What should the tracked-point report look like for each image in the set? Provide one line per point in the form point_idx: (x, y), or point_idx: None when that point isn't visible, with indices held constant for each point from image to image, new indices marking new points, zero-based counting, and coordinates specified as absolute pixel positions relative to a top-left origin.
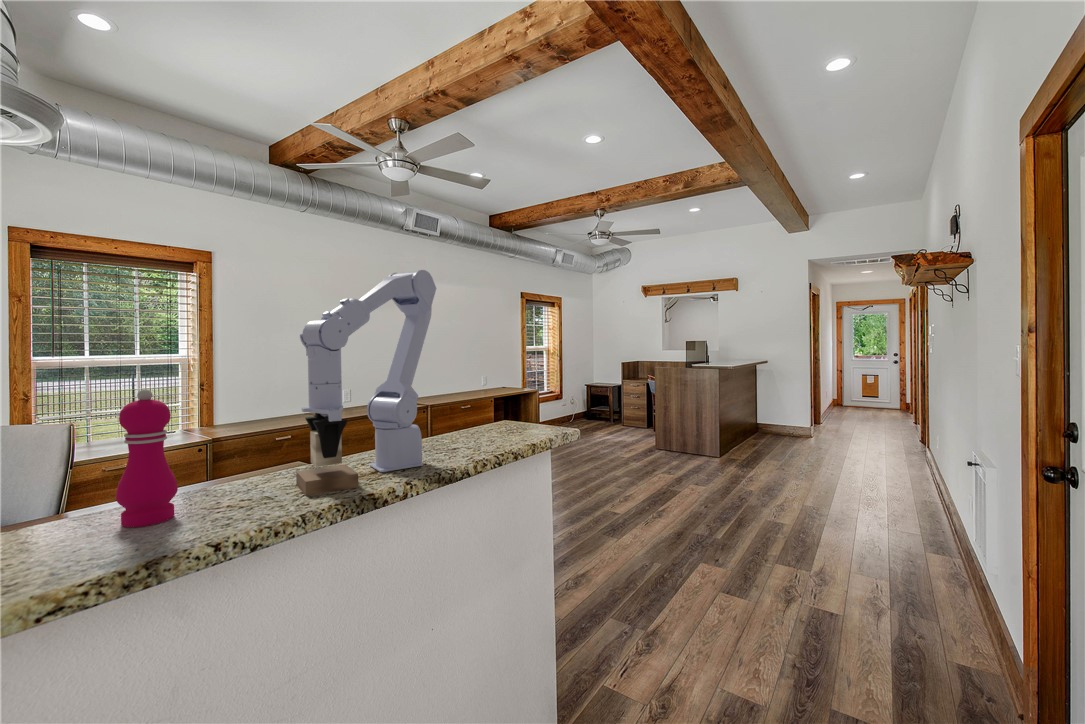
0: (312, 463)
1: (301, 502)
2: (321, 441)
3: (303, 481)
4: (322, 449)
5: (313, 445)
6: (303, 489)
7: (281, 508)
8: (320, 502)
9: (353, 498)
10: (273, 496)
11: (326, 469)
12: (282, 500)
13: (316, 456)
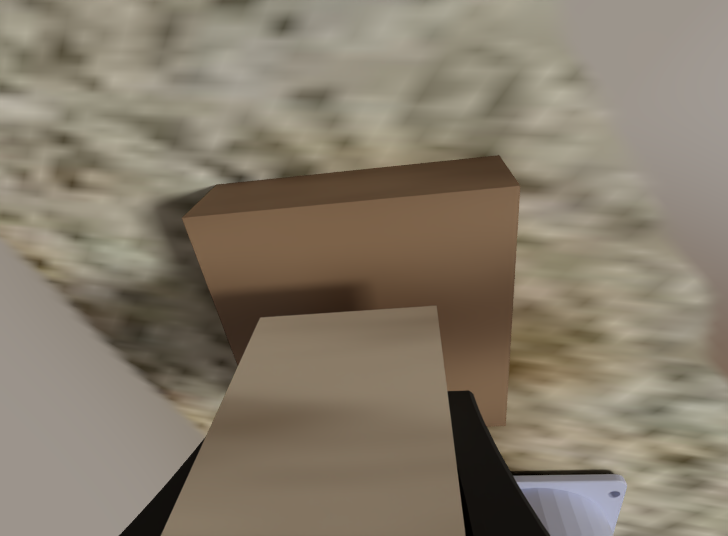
0: (376, 311)
1: (109, 157)
2: (133, 523)
3: (252, 206)
4: (195, 452)
5: (298, 436)
6: (268, 186)
7: (19, 54)
8: (89, 234)
9: (118, 343)
10: (287, 6)
11: (443, 342)
12: (175, 62)
13: (237, 374)
